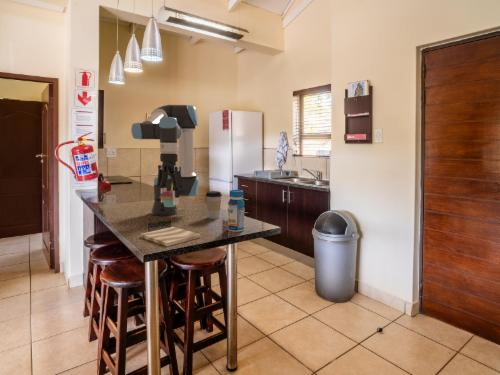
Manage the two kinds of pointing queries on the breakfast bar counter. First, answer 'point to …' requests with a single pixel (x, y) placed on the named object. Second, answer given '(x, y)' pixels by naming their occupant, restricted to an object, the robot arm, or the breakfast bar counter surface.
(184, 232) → the serving board
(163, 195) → the cupcake
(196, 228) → the breakfast bar counter surface
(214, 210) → the coffee cup
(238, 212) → the beverage bottle
